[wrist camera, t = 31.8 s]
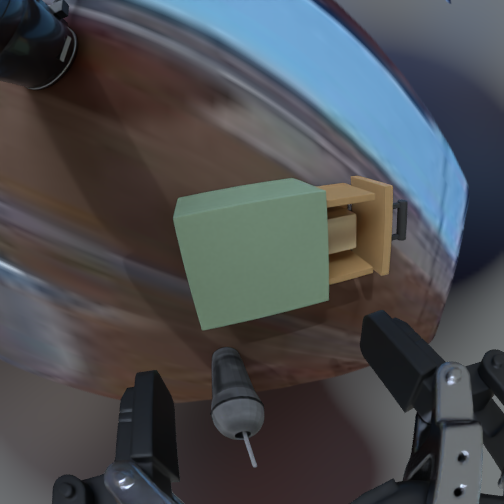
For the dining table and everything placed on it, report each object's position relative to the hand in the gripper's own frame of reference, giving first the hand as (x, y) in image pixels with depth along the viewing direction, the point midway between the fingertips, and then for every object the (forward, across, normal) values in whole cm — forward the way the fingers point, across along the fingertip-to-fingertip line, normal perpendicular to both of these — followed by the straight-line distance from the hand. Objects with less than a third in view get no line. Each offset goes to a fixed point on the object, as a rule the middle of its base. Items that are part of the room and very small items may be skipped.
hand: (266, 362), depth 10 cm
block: (+25, -14, +5) cm, 29 cm away
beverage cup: (+26, +3, +25) cm, 37 cm away
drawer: (+26, -16, +5) cm, 31 cm away
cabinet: (+27, -4, +5) cm, 27 cm away
